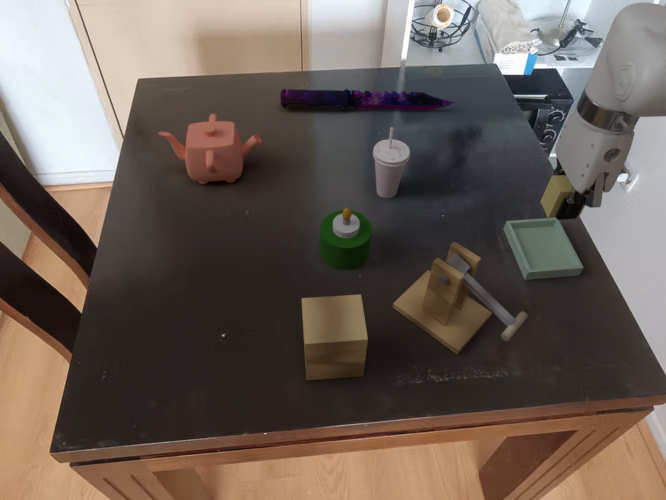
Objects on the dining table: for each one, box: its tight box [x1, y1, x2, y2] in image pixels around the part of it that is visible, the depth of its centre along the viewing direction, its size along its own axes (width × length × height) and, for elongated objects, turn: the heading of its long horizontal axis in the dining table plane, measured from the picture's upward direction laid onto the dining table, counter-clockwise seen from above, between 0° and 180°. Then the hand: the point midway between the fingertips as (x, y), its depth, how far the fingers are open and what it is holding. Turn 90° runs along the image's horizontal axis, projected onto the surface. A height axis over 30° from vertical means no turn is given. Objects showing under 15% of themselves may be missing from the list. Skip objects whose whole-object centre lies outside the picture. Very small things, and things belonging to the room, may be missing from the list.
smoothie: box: [372, 126, 411, 199], centre depth 94 cm, size 6×6×14 cm
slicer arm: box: [445, 253, 529, 342], centre depth 73 cm, size 13×5×2 cm, turn 47°
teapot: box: [157, 113, 262, 185], centre depth 99 cm, size 14×12×10 cm
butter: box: [540, 175, 586, 218], centre depth 81 cm, size 5×4×6 cm
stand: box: [301, 293, 369, 381], centre depth 73 cm, size 8×7×10 cm
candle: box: [319, 207, 373, 271], centre depth 86 cm, size 8×8×10 cm
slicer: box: [392, 241, 493, 355], centre depth 77 cm, size 12×9×13 cm
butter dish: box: [502, 217, 584, 281], centre depth 90 cm, size 11×9×2 cm
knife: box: [279, 88, 456, 112], centre depth 114 cm, size 37×4×5 cm, turn 89°
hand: (560, 206), depth 83 cm, fingers closed on butter, 3 cm apart
